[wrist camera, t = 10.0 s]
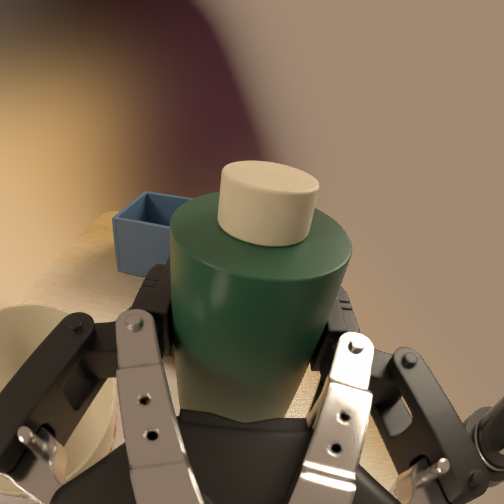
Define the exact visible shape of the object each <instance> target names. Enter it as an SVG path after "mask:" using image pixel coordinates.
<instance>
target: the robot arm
mask: <svg viewBox="0 0 504 504" xmlns="http://www.w3.org/2000/svg"><path fill="white" fill-rule="evenodd" d="M173 345H174V338H173V323H172V304H171V278H170V255H169V258H168V260H167V262H166V264H165V265H164V264H156V265H155V266H154V267H152V268H151V269H150V270H149V271H148V273H147V275H146V277H145V280H144V281H143V284H142V286H141V288H140V290H139V292H138V294H137V296H136V298H135V301H134V303H133V305H132V307H131V309H130V310H127V311H125V312H123V313H122V314H120V315H119V317H118V318H117V320H116V321H114V322H107V323H94V320H93V318H92V317H91V316H90V315H88V314H86V313H82V312H76V313H72V314H69V315H67V316H66V317H64V318H63V319H62V320H61V321H60V322H59V324H58V325H57V326H56V327H55V328H54V329H53V330H52V331H51V332H50V334H49V335H48V336H47V337H46V338H45V339H44V340H43V341H42V343H41V344H40V345H39V346H38V347H37V348H36V350H35V351H34V352H33V353H32V354H31V355H30V357H29V358H28V359H27V360H26V361H25V363H24V364H23V365H22V366H21V367H20V369H19V370H18V371H17V372H16V373H15V375H14V376H13V377H12V378H11V380H10V381H9V382H8V383H7V385H6V386H5V387H4V389H3V390H2V391H1V392H0V476H2V477H3V478H5V479H7V480H8V481H10V482H11V483H13V484H14V485H16V486H17V487H18V488H19V489H20V490H22V491H23V492H24V493H25V494H27V495H28V496H29V497H30V498H32V499H33V500H34V501H36V502H37V503H38V504H466V503H468V502H470V501H472V500H474V499H476V498H477V497H479V496H481V495H483V494H484V493H485V491H486V490H487V488H488V485H489V473H488V470H490V471H492V472H504V396H503V397H502V398H501V399H500V400H499V401H498V402H497V403H496V404H495V405H494V406H493V407H492V408H491V409H490V410H489V411H488V412H486V413H485V414H484V415H482V416H481V417H480V418H479V419H478V420H477V422H476V424H475V426H474V429H473V435H472V439H471V438H470V436H469V434H468V432H467V430H466V429H465V427H464V425H463V423H462V421H461V420H460V418H459V416H458V415H457V413H456V411H455V409H454V408H453V406H452V404H451V403H450V401H449V399H448V398H447V396H446V394H445V393H444V391H443V390H442V388H441V386H440V385H439V383H438V381H437V380H436V378H435V377H434V375H433V373H432V372H431V370H430V369H429V367H428V366H427V364H426V363H425V361H424V359H423V358H422V357H421V355H420V354H419V353H418V352H416V351H415V350H413V349H411V348H407V347H400V348H398V349H397V350H396V351H395V352H394V354H393V355H392V354H389V353H385V352H382V351H378V350H376V349H374V346H373V344H372V342H371V341H370V340H369V339H368V338H367V337H366V336H364V335H362V334H361V333H360V330H359V327H358V324H357V321H356V318H355V315H354V312H353V310H352V306H351V303H350V300H349V297H348V295H347V293H346V291H345V290H344V289H343V288H342V287H341V286H340V288H339V291H338V294H337V296H336V299H335V302H334V304H333V307H332V309H331V312H330V315H329V317H328V320H327V322H326V325H325V327H324V330H323V332H322V335H321V337H320V339H319V342H318V344H317V347H316V349H315V351H314V354H313V356H312V358H311V361H310V365H311V371H320V374H321V377H320V379H319V381H318V384H317V387H316V390H315V392H314V395H313V398H312V401H311V404H310V407H309V410H308V412H307V415H306V418H273V419H267V420H261V421H255V422H249V423H242V422H239V421H236V420H232V419H229V418H226V417H223V416H220V415H217V414H214V413H211V412H203V411H196V410H189V409H182V408H181V409H180V415H179V416H176V415H175V411H174V407H173V403H172V399H171V395H170V391H169V387H168V382H167V378H166V374H165V369H164V365H163V363H162V358H163V355H165V356H171V353H172V349H173ZM113 377H116V378H117V387H118V396H119V405H120V412H121V419H122V426H123V432H124V438H125V442H124V443H123V444H122V445H120V446H119V447H118V448H116V449H115V450H113V451H112V452H111V453H109V454H108V455H106V456H105V457H104V458H102V459H101V460H99V461H98V462H96V463H95V464H94V465H92V466H91V467H89V468H88V469H86V470H85V471H83V472H82V473H80V474H79V475H77V476H76V477H74V478H73V479H71V480H70V481H68V482H67V483H66V480H65V470H66V467H67V465H68V455H67V452H66V450H65V448H64V446H65V444H66V443H67V441H68V440H69V438H70V436H71V435H72V433H73V431H74V430H75V428H76V427H77V425H78V424H79V422H80V420H81V419H82V417H83V416H84V414H85V412H86V411H87V409H88V408H89V406H90V405H91V403H92V402H93V400H94V399H95V397H96V395H97V394H98V392H99V391H100V389H101V388H102V386H103V385H104V383H105V382H106V380H107V379H108V378H113ZM402 396H403V398H404V399H405V401H406V403H407V405H408V407H409V409H410V411H411V413H412V418H411V416H410V414H409V412H408V410H407V408H406V407H405V405H404V403H403V401H402V399H401V397H402ZM370 413H371V415H372V417H373V420H374V422H375V424H376V426H377V428H378V430H379V433H380V435H381V437H382V439H383V441H384V443H385V446H386V448H387V450H388V452H389V454H390V457H391V459H392V461H393V463H394V466H395V468H396V470H397V472H398V475H399V477H398V478H397V481H396V488H395V490H394V493H395V495H396V496H397V497H398V499H396V498H395V497H394V496H393V495H391V494H390V493H389V492H388V491H387V490H386V489H385V488H384V487H383V486H382V485H381V484H379V483H378V482H377V481H376V480H375V479H374V478H373V477H372V476H371V475H370V474H369V473H368V472H367V471H366V470H365V469H364V468H363V467H361V466H360V465H359V461H360V457H361V453H362V448H363V444H364V439H365V435H366V430H367V425H368V420H369V415H370ZM487 469H488V470H487Z"/></svg>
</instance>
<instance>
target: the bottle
mask: <svg viewBox="0 0 504 504" xmlns="http://www.w3.org/2000/svg"><path fill="white" fill-rule="evenodd" d="M318 192H319V183H318V181H317V180H316V179H315V178H314V177H312V176H311V175H309V174H308V173H306V172H304V171H301V170H299V169H296V168H293V167H290V166H286V165H282V164H278V163H272V162H264V161H240V162H234V163H231V164H228V165H226V166H225V167H224V168H223V170H222V176H221V186H220V192H217V193H212V194H206V195H202V196H199V197H196V198H193V199H191V200H189V201H187V202H186V203H184V204H182V205H181V206H180V207H179V208H178V209H177V210H176V211H175V212H174V214H173V216H172V218H171V221H170V278H171V304H172V323H173V338H174V352H175V364H176V375H177V385H178V395H179V403H180V409H181V408H182V409H189V410H196V411H203V412H211V413H214V414H217V415H220V416H223V417H226V418H229V419H232V420H236V421H239V422H242V423H249V422H255V421H261V420H267V419H273V418H284V416H285V414H286V412H287V410H288V408H289V406H290V404H291V402H292V400H293V398H294V396H295V394H296V391H297V389H298V387H299V385H300V383H301V381H302V378H303V376H304V374H305V372H306V370H307V367H308V365H309V363H310V361H311V358H312V356H313V354H314V351H315V349H316V347H317V344H318V342H319V339H320V337H321V335H322V332H323V330H324V327H325V325H326V322H327V320H328V317H329V315H330V312H331V309H332V307H333V304H334V302H335V299H336V296H337V294H338V291H339V288H340V285H341V283H342V280H343V277H344V274H345V272H346V269H347V266H348V263H349V260H350V257H351V253H352V245H351V241H350V238H349V236H348V235H347V233H346V231H345V230H344V229H343V228H342V227H341V226H340V225H339V224H338V223H337V222H336V221H335V220H334V219H332V218H331V217H329V216H328V215H326V214H325V213H323V212H321V211H319V210H318V209H316V208H315V205H316V201H317V196H318Z"/></svg>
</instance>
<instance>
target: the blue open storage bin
mask: <svg viewBox="0 0 504 504" xmlns="http://www.w3.org/2000/svg"><path fill="white" fill-rule="evenodd" d="M191 199H192V198H186V197H180V196H173V195H167V194H160V193H153V192H147V191H145V192H144V193H143V194H141V195H140V196H139V197H137V198H136V199H135V200H134V201H132V202H131V203H130V204H129V205H127V206H126V207H125V208H124V209H123V210H121V211H120V212H119V213H118V214H116V215H115V216H114V217H113V218H112V222H113V233H114V243H115V252H116V260H117V268H118V271H120V272H124V273H128V274H132V275H136V276H140V277H144V278H145V277H146V275H147V273H148V271H149V270H150V269H151V268H152V267H154V266H155V265H156V264H164V265H165V264H166V262H167V260H168V258H169V255H170V221H171V218H172V216H173V214H174V212H175V211H176V210H177V209H178V208H179V207H180V206H181V205H182V204H184V203H186V202H187V201H189V200H191Z"/></svg>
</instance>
